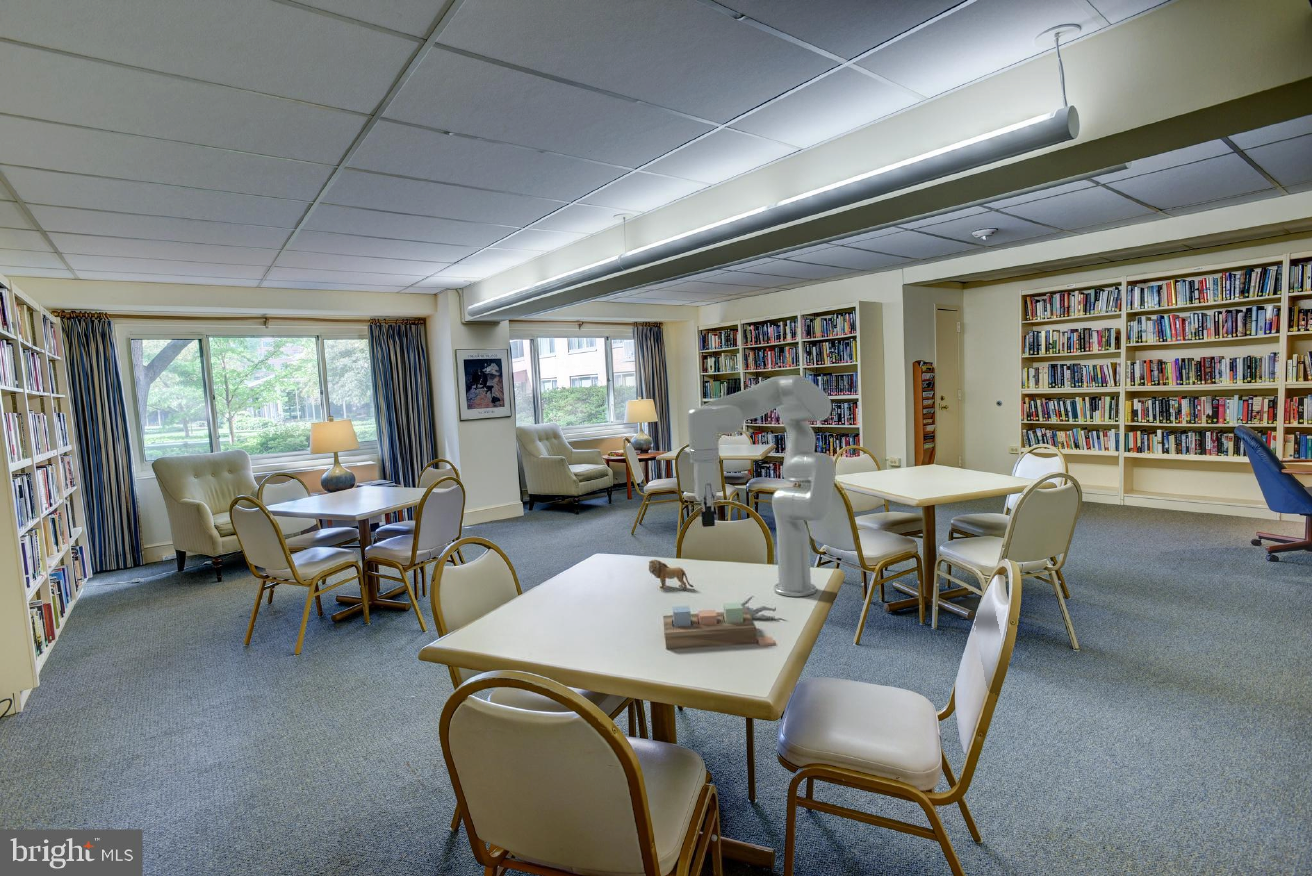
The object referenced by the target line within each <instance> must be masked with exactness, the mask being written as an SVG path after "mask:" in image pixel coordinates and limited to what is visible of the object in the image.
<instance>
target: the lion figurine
mask: <svg viewBox="0 0 1312 876" xmlns="http://www.w3.org/2000/svg"><path fill="white" fill-rule="evenodd" d="M648 571H649V574H651V575H653V576H654V578H656V579H659V580H660V583H661V585H662V586H661V585H660V586H659V589H664V588H665V586H666V581H667V580H666V579H668V580H673V579H675V578H676V579H677V581H678V582H679V583H680V584H678V587H679V586H680V588H682V590H683V591H687V589H688V587H687V585H688V586H689V587H690V588H695V586H694V585H692V584H691V583H690V582H689V579H688V577H687V574H686V572H685V570H684V568H682V567H679V566H677V567H670V566H668V565H667V564H666V563H665V562H661V560H658V559H652V560H650V561H648ZM684 579H685V580H684Z"/></svg>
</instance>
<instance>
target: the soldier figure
mask: <svg viewBox="0 0 1312 876" xmlns="http://www.w3.org/2000/svg"><path fill="white" fill-rule="evenodd" d="M754 597H755V595H751V596H749V597H748V598H747V599H746V600H745V601H743V602H739V603H740V604H741V606H742V608H743V611H744V610H747V611H748V613H749V615H750V616H751V618H752V620H753V619H754V620H766V619H767V620H768V619H771V620H775V618H776V616H775V615H766V614H763V613H762V612H765V611H768V612H769V611H771V612H775V611H777V606H775V607H769V606H765V605H761V606H758V607H756V608H752V607H750V606H749V605H747V604H749V602H751V600H753V598H754Z"/></svg>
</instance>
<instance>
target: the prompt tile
mask: <svg viewBox="0 0 1312 876" xmlns="http://www.w3.org/2000/svg"><path fill="white" fill-rule="evenodd" d="M756 639H757V643H758V646H759V647H762V646H775V645H776V643H775V641H774V639H773V637H772V636H764V637H763V636H762V637H761V636H760V637H756Z"/></svg>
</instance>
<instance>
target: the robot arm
mask: <svg viewBox="0 0 1312 876" xmlns="http://www.w3.org/2000/svg"><path fill="white" fill-rule="evenodd" d="M832 407H833V406H832V402H831V399H830V397H829V395H828V394H827V393H826V392H825V391H824V390H822V389H821V388H820V387H819V386H818V385H816V384H815V383H814V382H813V381H811V380H810V379H808V378H807V377H805V376H803V375H801V374H800V375H799V374H793V375H792V374H791V375H779V376H772V377H770V378H767V379H766V380H763V381H761V382H759V383H758V384H755V385H753V386H750V387H749V388H747V389H745V390H740V391H737V392H735V393H731V394H728V395H725V396H722V397H719V398H718V397H717V398H716V399H713V400H711V401H708V402H707V403H705V404H702V405H701V406H699V407H698V408H691V409H690V410H689V411H688V412H687V427H688V429H687V430H688V443H689V444H688V446H689V462H690V463H691V464H693V479H694V480H693V481H694V484H693V485H694V497H695V499H696V500H697V501H698V502H700V503H701V505H700V506H701V510H700V513H701V514H700V515H701V526H702V527H703V528H708V527H715V526H716V520H715V510H714V501H716V500H717V491H718V490H717V473H716V472H717V471H716V462H719V461H720V452H719V451H720V449H719V448H720V447H719V446H720V445H719V434H720V435H732V434H736V433H737V432H739V431H740V430H741V429H742V428H743V426H744V424H745V421H747V420H752V419H757V418H760V417H762V416H764V415H765V414H767V413H769V412H771V411H772V410H774V409H776V412H777V414H778V417H779V418H780V420H781V422H782V423H783V425H784V428H785V431H786V437H787V438H786V446H785V453H784V457H783V458H784V459H783V462H782V463H783V464H782V477H783V479H784V480H785V481H787V482H789V483H793V484H800V485H810V488H809V487H807V488H805V487H796V486H784V487H780V488H778V489H776V491H775V492H773V494H772V498H771V507H772V511H773V517H774V521H775V527H776V528H775V529H776V547H777V548H776V549H777V569H778V570H777V571H778V572H777V573H778V574H777V575H778V583H776V584H775V585H773V590H774V592H775V593H776V594H778V595H781V596H784V597H785V596H786V597H805V596H811V595H813V594H815V593H816V592H817V586H816V585H815V584H813V583H812V577H811V556H810V555H811V554H810V534H809V532H810V531H809V529H808V527H807V525H806V522H805V521H807V522H815V523H817V522H823V521H824V520H826V519H827V518H828V515H829V513H830V510H831V506H832V499H833V495H834V493H833V492H834V487H835V480H836V465H835V460H834V459H833V458H832V457H831V455H829V454H828V453H823V452H815V449H816V441H817V440H816V434H815V432H814V430H813V429H812V427H811V425H810V424H809V423H808V422H822V421H824V420H826V419H827V418H828V417H830V414H832V413H831V412H832V409H833V408H832Z"/></svg>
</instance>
